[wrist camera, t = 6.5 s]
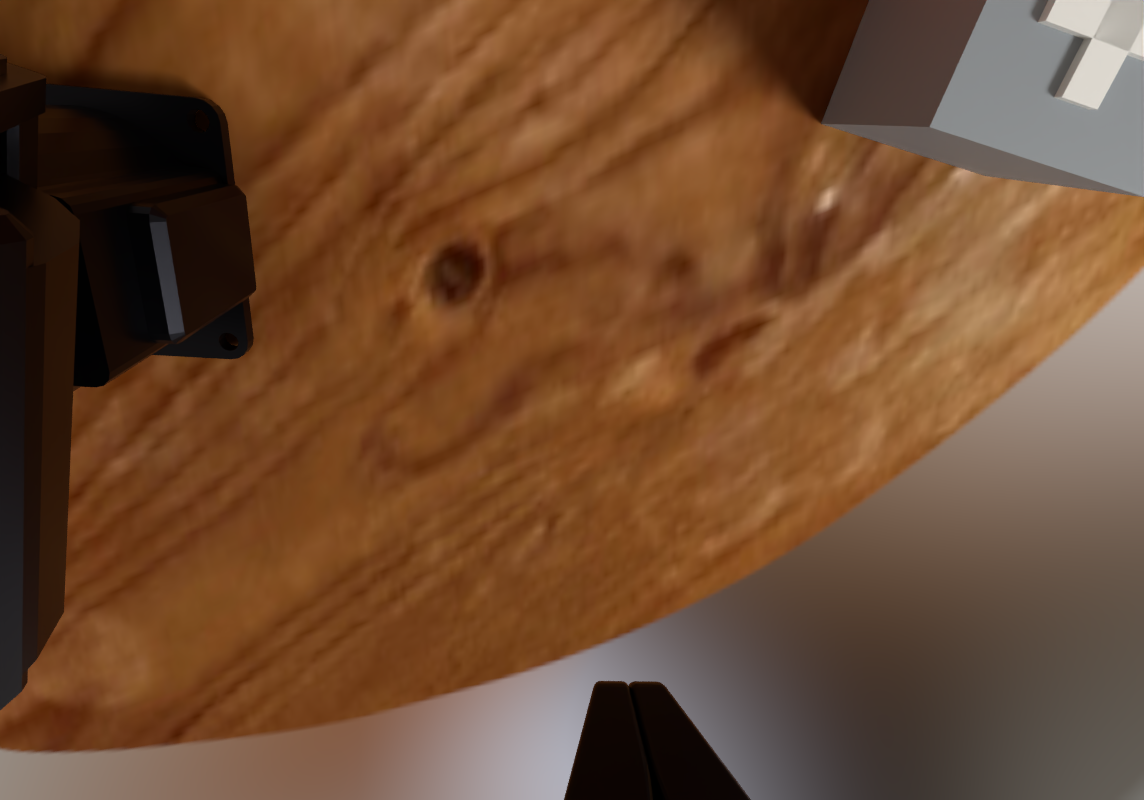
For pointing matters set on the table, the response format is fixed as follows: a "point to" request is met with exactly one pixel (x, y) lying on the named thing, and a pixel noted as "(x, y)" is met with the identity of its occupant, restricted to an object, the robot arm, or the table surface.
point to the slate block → (1003, 87)
